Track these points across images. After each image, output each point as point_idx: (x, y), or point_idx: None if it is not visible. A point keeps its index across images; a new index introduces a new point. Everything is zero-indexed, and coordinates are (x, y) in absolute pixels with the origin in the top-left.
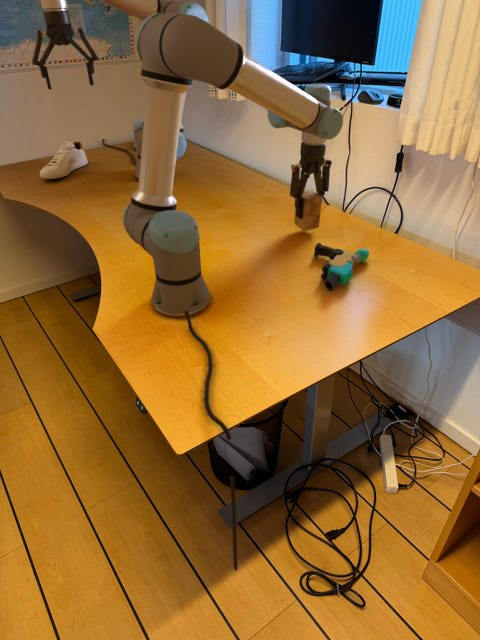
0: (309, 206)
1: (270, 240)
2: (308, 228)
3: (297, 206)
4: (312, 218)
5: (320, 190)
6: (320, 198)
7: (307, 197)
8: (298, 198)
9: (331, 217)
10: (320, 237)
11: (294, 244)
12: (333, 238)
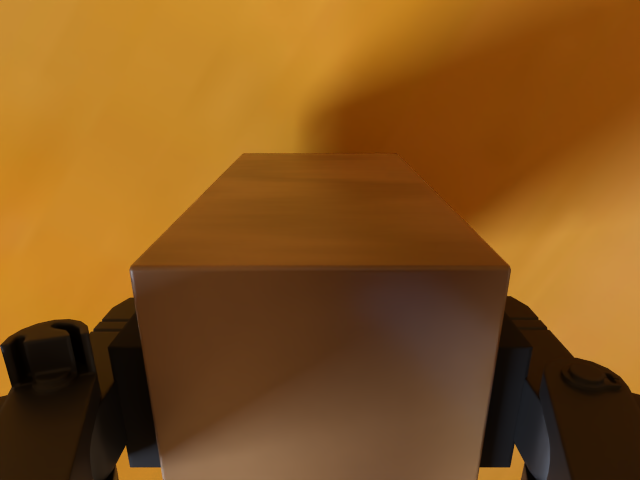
0: (403, 215)
1: (611, 224)
2: (355, 155)
3: (523, 311)
4: (322, 173)
5: (77, 421)
6: (179, 251)
7: (430, 342)
8: (602, 375)
9: (19, 327)
10: (267, 85)
11: (516, 82)
12: (179, 13)
